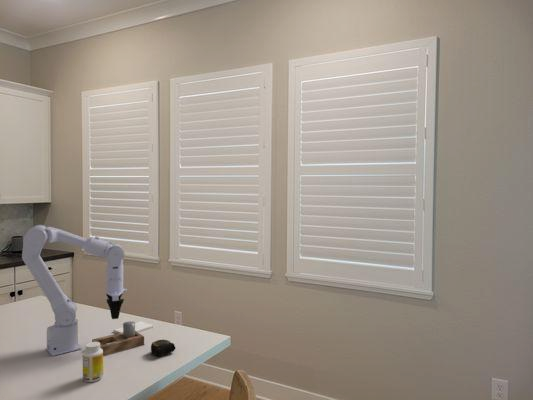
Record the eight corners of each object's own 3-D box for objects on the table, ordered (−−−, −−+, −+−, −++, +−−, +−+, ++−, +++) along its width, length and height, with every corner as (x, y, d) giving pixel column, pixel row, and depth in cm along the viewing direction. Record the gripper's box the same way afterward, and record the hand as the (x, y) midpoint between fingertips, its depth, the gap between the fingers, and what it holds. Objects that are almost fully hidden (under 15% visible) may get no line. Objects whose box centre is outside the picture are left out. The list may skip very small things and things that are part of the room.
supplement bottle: (105, 373, 122) (105, 340, 121) (99, 382, 116) (99, 347, 116) (86, 374, 121) (86, 340, 121) (79, 383, 116) (79, 348, 115)
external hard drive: (153, 329, 161) (125, 338, 151) (140, 324, 166) (113, 333, 156) (153, 325, 161) (125, 334, 151) (140, 320, 166) (113, 329, 156)
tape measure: (157, 359, 132) (157, 348, 132) (147, 353, 137) (147, 342, 137) (175, 353, 137) (175, 343, 137) (165, 347, 142) (165, 337, 142)
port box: (101, 356, 134) (100, 346, 134) (92, 347, 141) (92, 338, 141) (144, 344, 144) (144, 336, 144) (133, 337, 151) (133, 329, 150)
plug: (124, 345, 142) (124, 325, 141) (122, 342, 145) (122, 322, 145) (136, 343, 144) (136, 323, 144) (133, 339, 147) (133, 320, 147)
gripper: (127, 281, 140) (127, 320, 141) (125, 273, 154) (125, 308, 154) (106, 283, 137) (105, 322, 138) (105, 274, 151) (105, 310, 151)
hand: (114, 315), depth 146 cm, fingers open, 7 cm apart
